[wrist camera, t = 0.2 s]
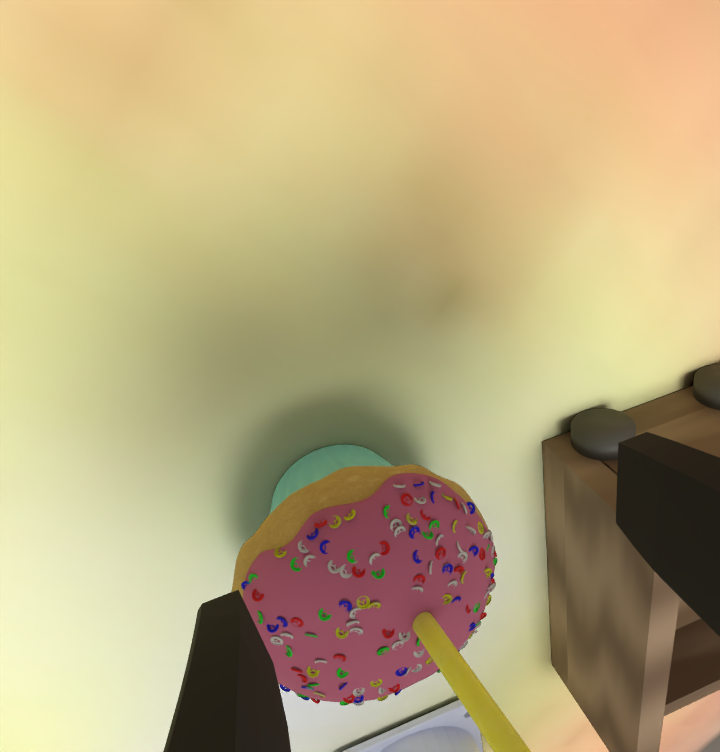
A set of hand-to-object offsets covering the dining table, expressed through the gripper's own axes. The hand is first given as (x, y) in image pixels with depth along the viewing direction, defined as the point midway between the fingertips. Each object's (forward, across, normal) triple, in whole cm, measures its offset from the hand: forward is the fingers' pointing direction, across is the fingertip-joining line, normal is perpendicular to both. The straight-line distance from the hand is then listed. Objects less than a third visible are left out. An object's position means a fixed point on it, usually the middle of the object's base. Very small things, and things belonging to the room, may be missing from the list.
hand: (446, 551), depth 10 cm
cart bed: (+10, -13, +16) cm, 23 cm away
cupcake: (+10, +1, +7) cm, 12 cm away
